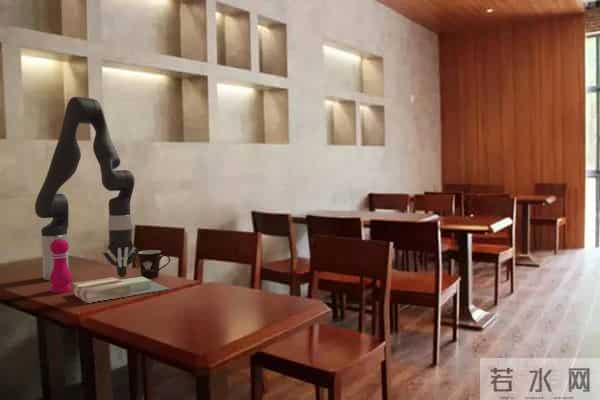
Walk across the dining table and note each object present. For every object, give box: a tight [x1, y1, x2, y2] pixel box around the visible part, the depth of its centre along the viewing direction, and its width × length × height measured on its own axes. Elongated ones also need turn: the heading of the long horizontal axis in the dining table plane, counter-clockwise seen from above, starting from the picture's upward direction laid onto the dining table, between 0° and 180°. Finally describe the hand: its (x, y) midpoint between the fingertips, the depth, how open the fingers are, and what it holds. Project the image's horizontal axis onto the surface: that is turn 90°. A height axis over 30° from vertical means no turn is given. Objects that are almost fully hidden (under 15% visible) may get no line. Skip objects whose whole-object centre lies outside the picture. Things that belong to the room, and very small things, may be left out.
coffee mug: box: [137, 249, 171, 280], centre depth 212 cm, size 12×9×10 cm
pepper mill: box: [49, 235, 73, 294], centre depth 191 cm, size 7×7×20 cm
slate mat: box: [130, 280, 170, 297], centre depth 193 cm, size 16×14×1 cm
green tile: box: [119, 276, 152, 292], centre depth 192 cm, size 8×9×3 cm
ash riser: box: [72, 277, 130, 304], centre depth 185 cm, size 16×14×4 cm
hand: (121, 276), depth 189 cm, fingers closed
